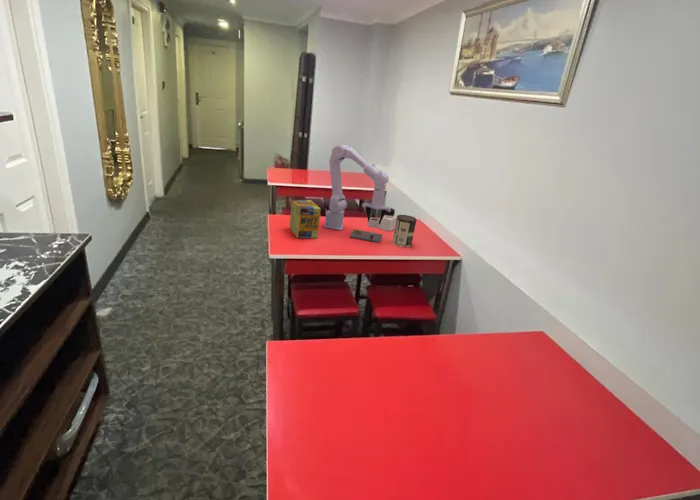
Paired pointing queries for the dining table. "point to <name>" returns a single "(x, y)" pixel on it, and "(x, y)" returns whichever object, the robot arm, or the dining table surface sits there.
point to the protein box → (304, 218)
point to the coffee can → (404, 230)
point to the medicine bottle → (388, 221)
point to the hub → (373, 222)
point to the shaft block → (366, 235)
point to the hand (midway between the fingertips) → (374, 222)
